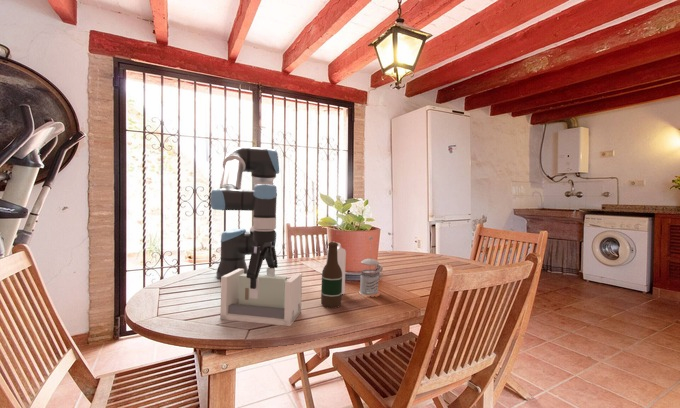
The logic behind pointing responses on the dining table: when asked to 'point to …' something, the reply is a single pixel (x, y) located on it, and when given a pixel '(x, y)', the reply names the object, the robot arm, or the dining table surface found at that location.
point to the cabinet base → (234, 296)
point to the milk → (341, 263)
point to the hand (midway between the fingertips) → (262, 291)
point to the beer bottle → (331, 279)
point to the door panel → (263, 291)
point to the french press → (369, 287)
